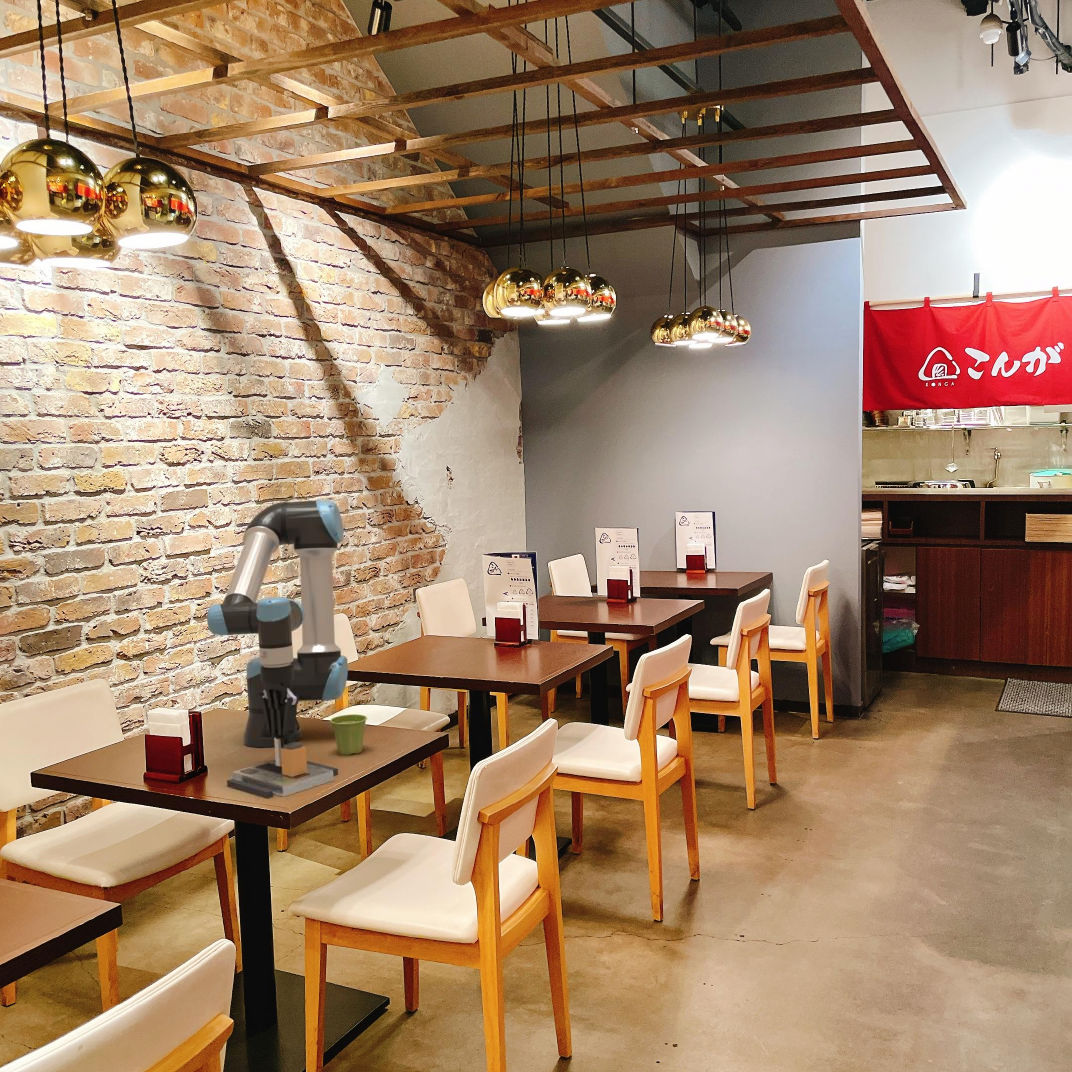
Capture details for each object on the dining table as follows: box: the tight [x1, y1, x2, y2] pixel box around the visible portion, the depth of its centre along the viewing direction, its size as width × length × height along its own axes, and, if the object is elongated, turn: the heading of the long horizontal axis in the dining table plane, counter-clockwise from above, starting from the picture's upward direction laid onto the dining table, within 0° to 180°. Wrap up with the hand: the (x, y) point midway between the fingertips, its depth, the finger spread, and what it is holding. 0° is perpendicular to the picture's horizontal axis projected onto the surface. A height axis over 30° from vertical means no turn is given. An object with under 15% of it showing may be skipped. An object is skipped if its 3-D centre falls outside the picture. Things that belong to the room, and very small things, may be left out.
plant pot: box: [329, 713, 368, 756], centre depth 257 cm, size 9×9×9 cm
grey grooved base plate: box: [226, 760, 339, 799], centre depth 235 cm, size 17×20×1 cm
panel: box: [231, 758, 335, 798], centre depth 235 cm, size 20×14×3 cm
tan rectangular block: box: [281, 741, 308, 777], centre depth 231 cm, size 4×4×7 cm
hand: (282, 764), depth 234 cm, fingers closed
